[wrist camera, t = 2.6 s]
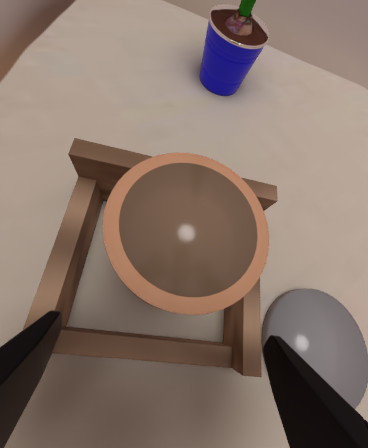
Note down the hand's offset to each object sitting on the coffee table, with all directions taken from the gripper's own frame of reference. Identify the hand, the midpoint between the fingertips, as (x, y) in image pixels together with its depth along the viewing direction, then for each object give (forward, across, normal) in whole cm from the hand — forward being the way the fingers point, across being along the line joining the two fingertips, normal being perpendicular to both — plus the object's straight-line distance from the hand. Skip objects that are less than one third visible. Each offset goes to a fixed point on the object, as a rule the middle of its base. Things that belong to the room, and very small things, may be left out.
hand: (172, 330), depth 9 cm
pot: (+11, 0, +5) cm, 12 cm away
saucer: (+7, -16, +9) cm, 20 cm away
